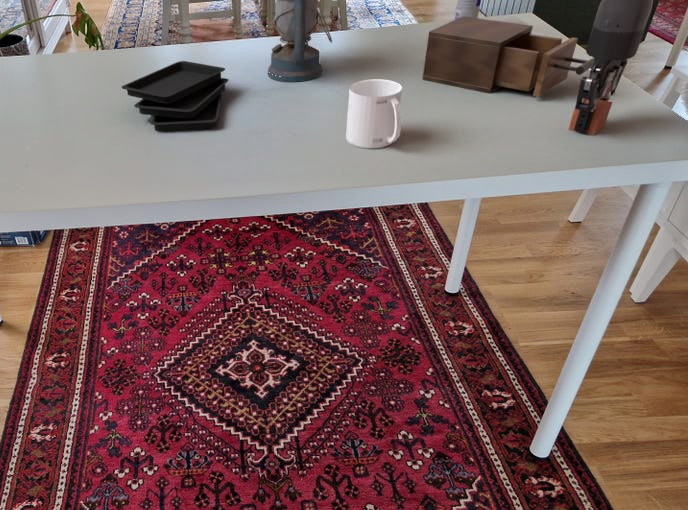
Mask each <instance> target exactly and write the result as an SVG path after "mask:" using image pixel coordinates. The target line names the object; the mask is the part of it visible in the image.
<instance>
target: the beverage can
mask: <svg viewBox="0 0 688 510" xmlns="http://www.w3.org/2000/svg"><path fill="white" fill-rule="evenodd" d="M481 4H482V0H456V7H455V13H454V17H453V18H454V19H453V21H454V20H456V19H458V18H460V17H463V16H464V17H471V18H478V19H479V14H480V13H479V12H480V9H481Z"/></svg>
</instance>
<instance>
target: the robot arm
mask: <svg viewBox="0 0 688 510" xmlns="http://www.w3.org/2000/svg"><path fill="white" fill-rule="evenodd" d="M653 3H654V0H601V1H600V3H599V6H598V9H597V12H596V15H595V17H594V18H595V19H594V22H593V25H592V28H591V32H590V35H589V38H588V41H587V45H586V48H585V53H586V54H587V55H588V56H589V57H592V58H594V59H595V62H594V64H593V66H591V67H590V69H589V70H587V73H586V76H585V75H584V76H581V78H580V81H579V87H578V92H577V97H576V102H575V106H574V109H578V110H580V111H579V114H578V118H577V121H576V124H575V127H574V130H575V131H574V132H577V133H582V134H587V133H586V132H587V131H588V130H589V127H590V123H591V120H592V117H593V114H594V111H595V110H596V107H597V104H598V102H599V100H603V101H609V102H610V100H611V96H612V97H613V96H614V95H615V94H616V90H617V87H618V85H619V83H620V81H621V79H622V75H623V73H624V71H625V68H626V66H627V64H628V60H629V59H631V58H633V57H635V56H636V55H637V52H638V51H639V47H640V44H641V41H642V38H643V35H644V33H645V29H646V26H647V23H648V21H649V18H650V15H651V12H652V7H653ZM586 100H589V103H588V104H587V103H586Z"/></svg>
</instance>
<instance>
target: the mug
mask: <svg viewBox="0 0 688 510" xmlns="http://www.w3.org/2000/svg"><path fill="white" fill-rule="evenodd" d="M402 92H403V86H402V85H401V84H400V83H399V82H396V81H394V80H390V79H382V78H381V79H380V78H373V79H372V78H371V79H363V80H359V81H356V82H353V83H352V84H350V86H349V91H348V103H347V104H348V105H347V118H346V133H345V138H346V141H347V143H349V144H350V145H351V146H354V147H357V148H361V149H368V150H369V149H371V150H372V149H373V150H374V149H383V148H386V147H389V146H390V145H392V144H394V143H395V142H396V141H397V140H398V139H399V138H400V135H401V130H402V114H401V107H400V106H401V100H402Z"/></svg>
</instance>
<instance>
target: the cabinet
mask: <svg viewBox="0 0 688 510" xmlns="http://www.w3.org/2000/svg"><path fill="white" fill-rule="evenodd" d="M533 27H534V26H533V25H529V24H523V23H522V24H521V23H514V22H507V21H499V20H492V19H485V18H479V17H478V18H471V17H464V16H463V17H460V18H458V19H456V20H454V19H453V20H452V21H449V22H447V23H445V24H443V25H440V26H439V27H436V28H434V29H432V30H430V31H428V37H427V45H426V51H425V59H424V65H423V73H422V81H427V82H433V83H438V84H441V85H447V86H452V87H457V88H461V89H467V90H471V91H476V92H481V93H487V94H491V93H493V92H494V91H496V90H498V89H500V88H501V87H503V86H497V85H494V81H495V76H496V71H497V67H498V62H499V57H500V53H501V48H502V46H503V45H505V44H507V43H509V42H511V41H513V40H515V39H517V38H518V37H520V36H522V35H524V34H532V31H533V29H534V28H533Z"/></svg>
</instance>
